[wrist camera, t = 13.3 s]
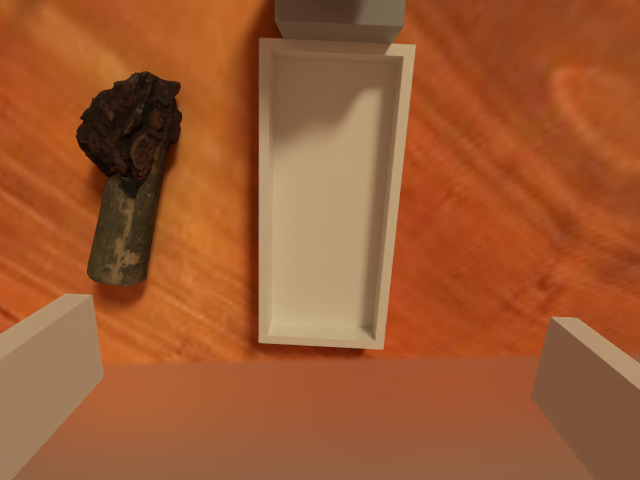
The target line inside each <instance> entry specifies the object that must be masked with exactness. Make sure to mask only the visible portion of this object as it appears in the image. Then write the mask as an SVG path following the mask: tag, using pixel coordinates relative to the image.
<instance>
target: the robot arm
mask: <svg viewBox="0 0 640 480" xmlns="http://www.w3.org/2000/svg"><path fill="white" fill-rule="evenodd" d="M103 377H104V375H103V368H102V361H101V353H100V346H99V339H98V332H97V325H96V317H95V310H94V303H93V296H92V295H87V294H64V295H62V296H61V297H59V298H57V299H56V300H54V301H53V302H51V303H49V304H48V305H46V306H45V307H43V308H41V309H40V310H38V311H37V312H35V313H33V314H32V315H30V316H29V317H27V318H25V319H24V320H22V321H21V322H19V323H17V324H16V325H14V326H13V327H11V328H9V329H8V330H6V331H5V332H3V333H1V334H0V480H12V478H13V477H14V476H15V475H16V474H17V473H18V472H19V470H21V468H22V467H23V466H24V465H25V464H26V463H27V462H28V461H29V460H30V458H31V457H32V456H33V455H34V454H35V453H36V451H38V449H39V448H40V447H41V446H42V445H43V444H44V443H45V442H46V441H47V439H48V438H49V437H50V436H51V435H52V434H53V433H54V432H55V431H56V430H57V428H58V427H59V426H60V425H61V424H62V423H63V422H64V421H65V420H66V418H67V417H68V416H69V415H70V414H71V413H72V412H73V411H74V409H76V407H77V406H78V405H79V404H80V403H81V402H82V401H83V400H84V398H85V397H86V396H87V395H88V394H89V393H90V392H91V391H92V389H94V387H95V386H96V385H97V384H98V383H99V382H100V381H101V380H102V378H103ZM531 399H532V400H533V401H534V402H535V404H536V405H537V406H538V407H539V409H540V410H541V411H542V413H543V414H544V415H545V417H546V418H547V419H548V420H549V422H550V423H551V424H552V426H553V427H554V428H555V429H556V431H557V432H558V433H559V434H560V436H561V437H562V438H563V439H564V441H565V442H566V443H567V445H568V446H569V448H570V449H571V450H572V451H573V453H574V454H575V455H576V457H577V458H578V459H579V460H580V462H581V463H582V464H583V466H584V467H585V468H586V469H587V471H588V472H589V473H590V474H591V476H592V477H593V478H594V480H640V364H639V363H638V362H636V361H635V360H634V359H632V358H631V357H630V356H628V355H627V354H626V353H624V352H623V351H621V350H620V349H619V348H617V347H616V346H615V345H613V344H612V343H611V342H609V341H608V340H607V339H605V338H604V337H602V336H601V335H600V334H598V333H597V332H596V331H594V330H593V329H592V328H590V327H589V326H588V325H586V324H585V323H583V322H582V321H581V320H579V319H578V318H567V317H550V321H549V325H548V329H547V333H546V337H545V341H544V345H543V349H542V353H541V358H540V362H539V366H538V370H537V374H536V378H535V382H534V386H533V390H532V394H531Z"/></svg>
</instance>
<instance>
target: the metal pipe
mask: <svg viewBox="0 0 640 480" xmlns="http://www.w3.org/2000/svg"><path fill="white" fill-rule="evenodd" d="M180 87H181V85H180V82H175V81H166V80H163V79H160V78H159V77H157V76H155V75H153V74H151V73H150V72H147V71H145V72H141V73H136V72H135V74H132V75H131V77H129V78H128V79H127V80H125V81H117V82H114V87H113V88H112V89H108V90H103V91H101V92H100V93H99V94H98V95H97V96H96V97H95V98H92V103H91V105H90V107H89V108H88V109H86V110H85V111H84V113H83V115H82V116H81V117H80V119H82V120H84V121H83V123H82V124H81V125H80V126H79V127H78V129H77V135H76V138H77V141H78V144H79V146H80V148H81V150H82V151H84V152H85V154H86V156H87V157H88V158H89V159H90V160H91V161H92V162H93V163H95V164H96V165H97V167H98V168H99V169H100V170H101V171H102V172H103V173H104V174H105V175H106V176H108V177H110V178H109V179H107V180H106V181H105V187H104V192H103V198H102V203H101V208H100V213H99V218H98V222H97V227H96V231H95V236H94V240H93V245H92V249H91V253H90V258H89V262H88V268H87V274H88V276H89V278H91V279H92V280H93V281H96V282H99V283H103V284H110V285H118V286H131V285H136V284H138V283H141V282H142V280H143V281H145V280H146V276H147V267H148V261H149V255H150V249H151V243H152V236H153V230H154V223H155V216H156V210H157V205H158V200H159V195H160V190H161V184H162V178H163V173H164V168H165V163H166V158H167V154H168V151H169V149H170V147H171V145H172V144H175V143H176V142H177V141H178V139H179V136H180V130H181V128H180V123H181V120H182V113H181V112H180V111H179V110H178V109H177V104H176V99H175V95H177V94H178V93H179V90H180Z"/></svg>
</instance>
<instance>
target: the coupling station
mask: <svg viewBox="0 0 640 480" xmlns="http://www.w3.org/2000/svg"><path fill="white" fill-rule="evenodd" d="M405 4H406V0H275V22H276V24H277V26H278V29H279V31H280V33H281V35H282V37H283V39H279V38H259V343H271V344H289V345H308V346H327V347H345V348H364V349H383V347H384V337H385V328H386V319H387V309H388V300H389V291H390V281H391V272H392V263H393V253H394V244H395V234H396V225H397V216H398V206H399V197H400V188H401V178H402V169H403V160H404V150H405V141H406V132H407V122H408V113H409V104H410V94H411V85H412V75H413V66H414V57H415V47H416V45H409V44H392V42H393V41H394V39H395V38H396V36H397V35H398V33H399V32H400V30H401V29H402V28H403V24H404V14H405Z"/></svg>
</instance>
